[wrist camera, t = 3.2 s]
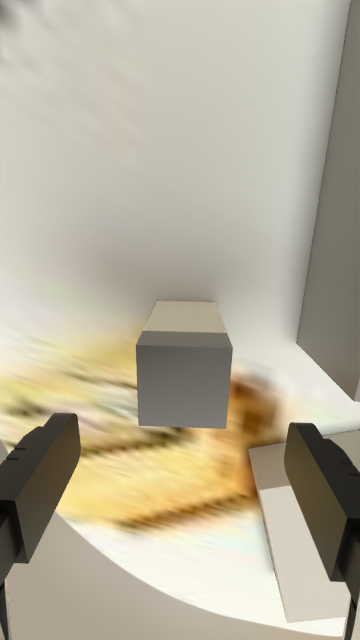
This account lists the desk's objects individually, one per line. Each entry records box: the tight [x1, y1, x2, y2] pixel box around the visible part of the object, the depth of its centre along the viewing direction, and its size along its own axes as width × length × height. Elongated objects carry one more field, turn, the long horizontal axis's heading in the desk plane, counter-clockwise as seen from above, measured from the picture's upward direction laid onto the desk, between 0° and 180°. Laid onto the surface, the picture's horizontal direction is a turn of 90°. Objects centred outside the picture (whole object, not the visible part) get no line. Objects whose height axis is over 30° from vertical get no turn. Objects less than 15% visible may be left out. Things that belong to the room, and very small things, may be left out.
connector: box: [136, 300, 233, 429], centre depth 18 cm, size 4×4×9 cm
